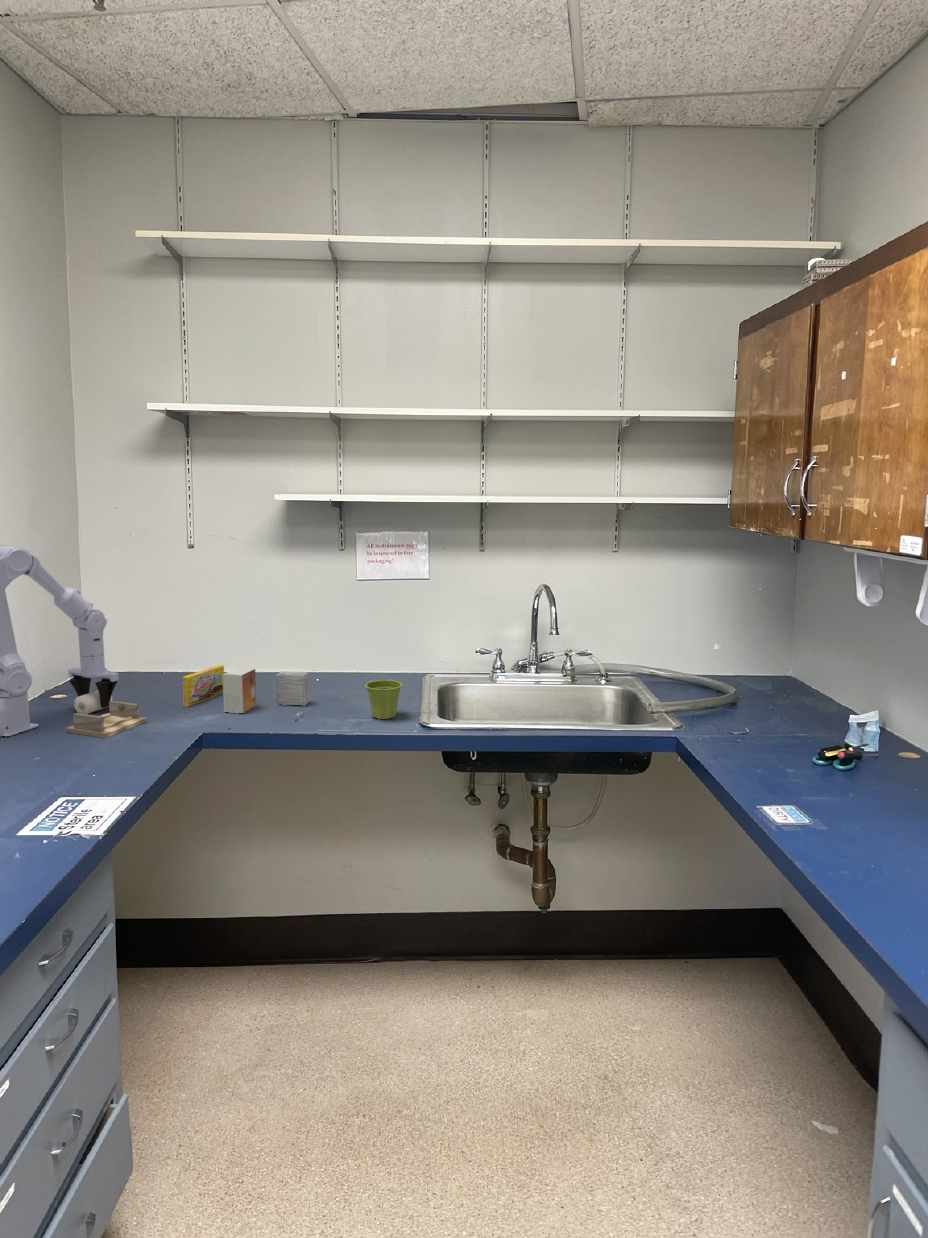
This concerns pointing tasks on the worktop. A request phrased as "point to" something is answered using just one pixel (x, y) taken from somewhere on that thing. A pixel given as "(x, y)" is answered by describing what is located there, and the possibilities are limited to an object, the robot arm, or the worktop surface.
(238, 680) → the small box
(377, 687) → the plant pot
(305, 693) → the grey wooden crate
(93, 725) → the roll holder
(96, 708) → the paper roll
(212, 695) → the candy box
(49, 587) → the robot arm
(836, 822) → the worktop surface
